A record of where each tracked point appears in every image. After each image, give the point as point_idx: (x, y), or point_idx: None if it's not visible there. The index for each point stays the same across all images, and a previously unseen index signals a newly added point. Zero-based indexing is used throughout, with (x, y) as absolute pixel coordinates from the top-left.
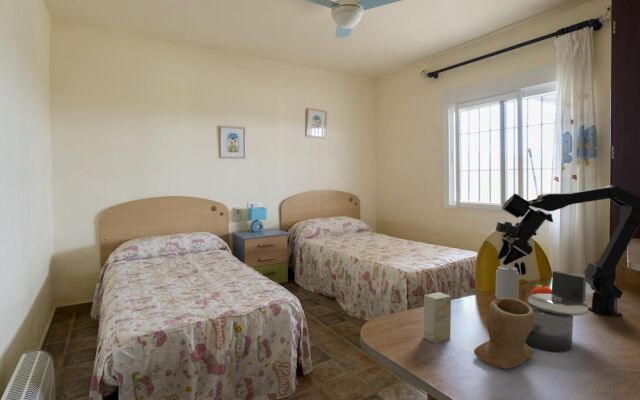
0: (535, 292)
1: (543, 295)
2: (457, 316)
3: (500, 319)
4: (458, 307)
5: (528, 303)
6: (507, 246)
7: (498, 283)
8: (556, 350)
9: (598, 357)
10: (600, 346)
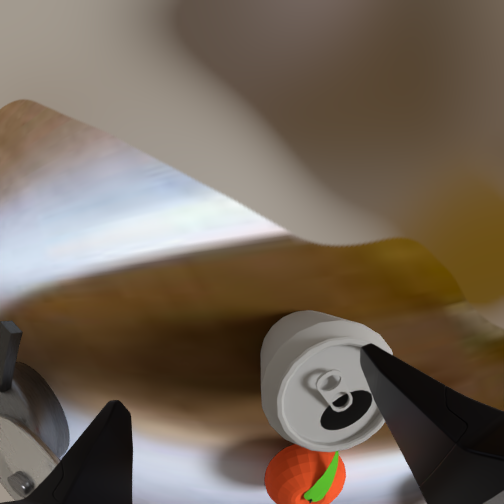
0: (280, 468)
1: (47, 474)
2: (56, 220)
3: None
4: (121, 203)
5: (9, 415)
6: (445, 473)
7: (278, 334)
8: None
9: None
10: None
